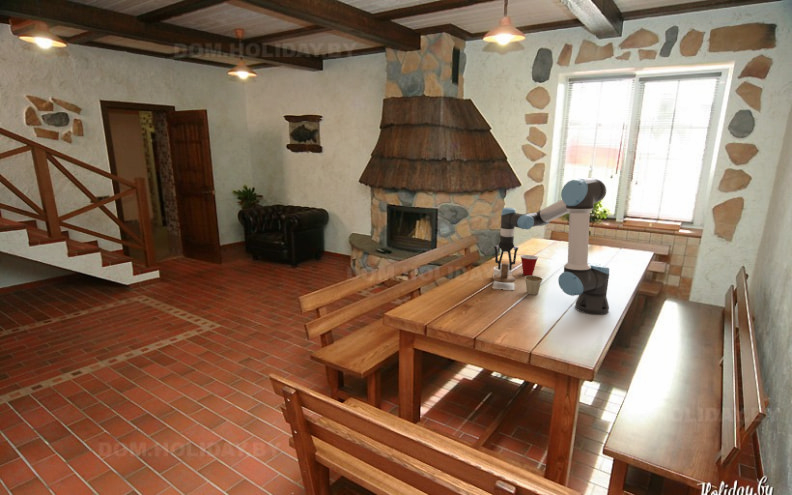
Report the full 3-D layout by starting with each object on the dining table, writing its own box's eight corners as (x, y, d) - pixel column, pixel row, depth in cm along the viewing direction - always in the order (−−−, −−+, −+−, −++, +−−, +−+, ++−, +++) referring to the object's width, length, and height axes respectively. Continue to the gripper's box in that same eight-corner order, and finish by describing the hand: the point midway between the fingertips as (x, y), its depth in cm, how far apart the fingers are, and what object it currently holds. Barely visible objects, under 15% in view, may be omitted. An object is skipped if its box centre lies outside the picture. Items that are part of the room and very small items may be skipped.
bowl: (511, 277, 258) (511, 266, 256) (510, 282, 248) (511, 271, 247) (494, 275, 261) (494, 265, 259) (492, 280, 251) (493, 270, 250)
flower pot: (544, 292, 230) (545, 278, 228) (536, 297, 224) (538, 282, 221) (528, 289, 236) (529, 274, 234) (520, 293, 230) (521, 278, 228)
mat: (515, 284, 245) (515, 283, 245) (514, 290, 234) (514, 289, 234) (494, 282, 248) (494, 281, 248) (492, 288, 237) (492, 287, 237)
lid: (515, 277, 244) (516, 262, 242) (514, 283, 233) (515, 267, 231) (494, 275, 247) (495, 260, 245) (492, 281, 236) (493, 266, 234)
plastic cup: (539, 273, 264) (540, 255, 262) (534, 278, 256) (535, 259, 253) (522, 270, 270) (523, 253, 267) (516, 275, 262) (518, 256, 259)
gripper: (522, 235, 235) (519, 274, 240) (492, 233, 240) (490, 271, 245) (522, 237, 228) (519, 278, 234) (491, 235, 233) (489, 275, 238)
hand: (504, 275), depth 239 cm, fingers closed on lid, 4 cm apart
